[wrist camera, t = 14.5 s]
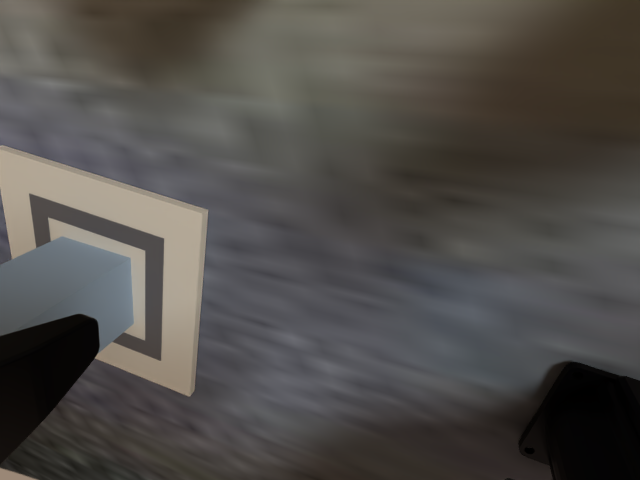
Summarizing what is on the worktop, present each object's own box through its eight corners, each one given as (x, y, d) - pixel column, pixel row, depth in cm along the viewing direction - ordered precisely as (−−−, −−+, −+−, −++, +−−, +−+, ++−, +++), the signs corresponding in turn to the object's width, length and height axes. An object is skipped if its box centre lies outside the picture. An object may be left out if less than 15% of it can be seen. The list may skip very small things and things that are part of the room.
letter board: (194, 390, 29) (189, 397, 29) (31, 324, 32) (23, 329, 31) (208, 210, 23) (202, 213, 22) (3, 145, 25) (-8, 147, 25)
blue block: (130, 258, 25) (-43, 366, 16) (133, 323, 27) (-18, 449, 19) (61, 236, 26) (-137, 327, 17) (70, 301, 28) (-102, 411, 20)
